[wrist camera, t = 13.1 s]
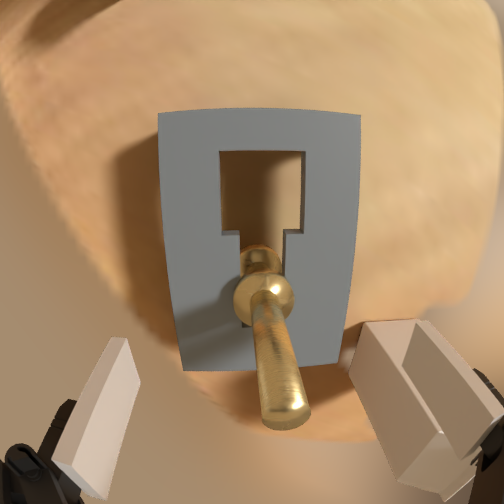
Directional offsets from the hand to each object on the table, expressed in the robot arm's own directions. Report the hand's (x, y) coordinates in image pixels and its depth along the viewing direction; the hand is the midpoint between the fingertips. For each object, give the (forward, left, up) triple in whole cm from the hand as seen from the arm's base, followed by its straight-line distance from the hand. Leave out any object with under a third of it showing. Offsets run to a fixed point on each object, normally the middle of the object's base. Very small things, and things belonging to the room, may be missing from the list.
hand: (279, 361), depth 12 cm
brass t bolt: (0, 0, -12) cm, 12 cm away
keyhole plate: (-2, 0, -13) cm, 13 cm away
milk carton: (+11, +14, -13) cm, 22 cm away
